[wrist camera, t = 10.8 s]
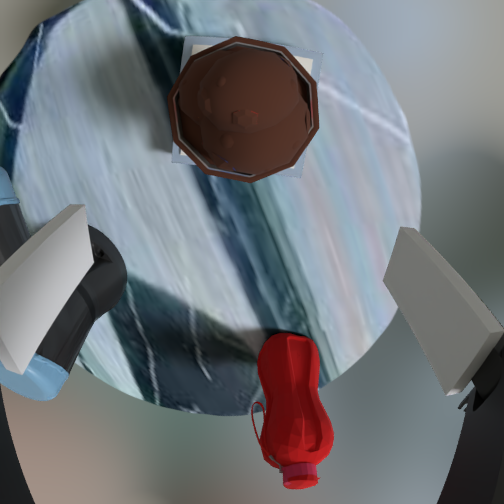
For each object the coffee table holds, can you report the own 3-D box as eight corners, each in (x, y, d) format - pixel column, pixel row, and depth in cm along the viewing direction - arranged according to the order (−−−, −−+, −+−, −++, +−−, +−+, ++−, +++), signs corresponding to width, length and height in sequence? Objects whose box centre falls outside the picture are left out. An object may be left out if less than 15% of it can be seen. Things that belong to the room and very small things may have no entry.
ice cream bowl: (173, 83, 27) (111, 80, 14) (276, 40, 25) (298, -5, 12) (217, 171, 32) (192, 234, 18) (316, 132, 29) (367, 166, 16)
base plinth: (179, 155, 35) (170, 163, 31) (192, 41, 28) (184, 35, 24) (295, 169, 36) (301, 178, 32) (315, 57, 29) (323, 52, 25)
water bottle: (260, 322, 48) (266, 474, 26) (322, 336, 49) (352, 474, 28) (242, 358, 52) (240, 493, 30) (299, 369, 54) (315, 495, 32)
